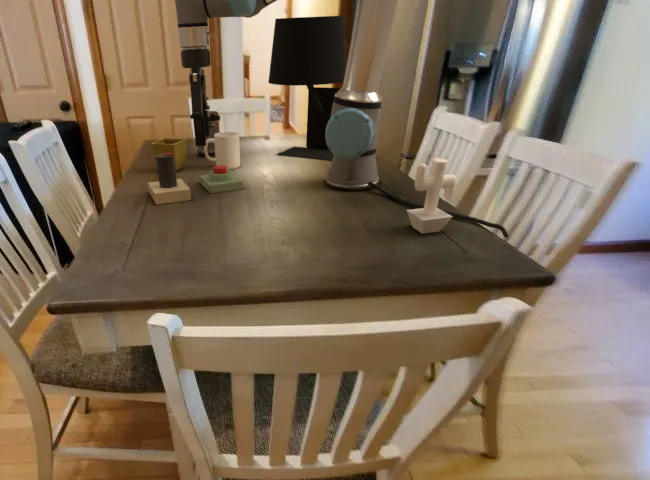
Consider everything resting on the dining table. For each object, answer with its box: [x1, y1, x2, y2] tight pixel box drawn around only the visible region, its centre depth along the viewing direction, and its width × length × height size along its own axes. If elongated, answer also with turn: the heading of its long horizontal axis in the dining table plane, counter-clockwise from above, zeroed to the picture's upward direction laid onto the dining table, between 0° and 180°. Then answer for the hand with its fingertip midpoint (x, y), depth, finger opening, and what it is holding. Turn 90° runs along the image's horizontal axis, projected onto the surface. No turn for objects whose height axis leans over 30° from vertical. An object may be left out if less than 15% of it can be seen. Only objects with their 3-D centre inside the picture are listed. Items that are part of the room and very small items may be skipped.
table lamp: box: [267, 15, 347, 162], centre depth 155 cm, size 26×28×40 cm
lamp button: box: [212, 165, 228, 174], centre depth 138 cm, size 4×4×2 cm
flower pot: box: [150, 137, 187, 172], centre depth 156 cm, size 9×9×9 cm
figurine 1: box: [197, 110, 221, 157], centre depth 169 cm, size 9×12×15 cm
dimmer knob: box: [154, 153, 178, 188], centre depth 129 cm, size 5×5×8 cm
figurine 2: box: [406, 157, 457, 235], centre depth 102 cm, size 7×9×15 cm
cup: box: [203, 131, 241, 170], centre depth 156 cm, size 8×12×10 cm
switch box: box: [199, 169, 244, 194], centre depth 139 cm, size 12×10×4 cm
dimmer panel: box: [147, 178, 192, 206], centre depth 133 cm, size 12×10×3 cm
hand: (202, 140), depth 130 cm, fingers open, 13 cm apart
